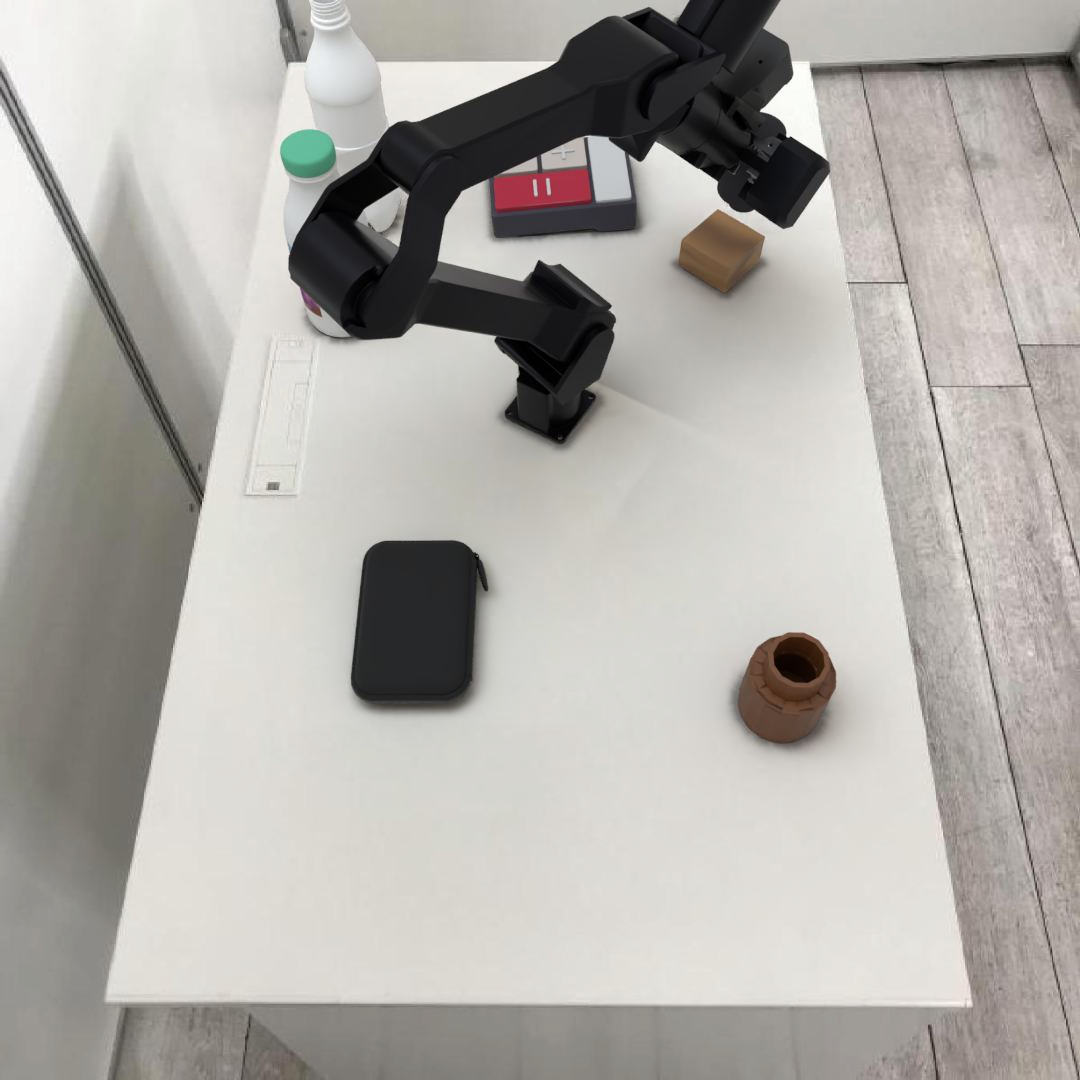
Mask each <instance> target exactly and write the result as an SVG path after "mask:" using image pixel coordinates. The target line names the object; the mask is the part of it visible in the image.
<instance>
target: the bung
mask: <svg viewBox="0 0 1080 1080" xmlns="http://www.w3.org/2000/svg"><path fill="white" fill-rule="evenodd" d="M759 114H760V115H762V116H763V117H764V118H765V119H766V120H765V121H764V123H763V124H762V126H761V127H760V129H759V130H758V132H757V133H755V132H754V131H752V133H753V134H755V135H756V136H758V137H759V138H761V139H763V140H765V139H767V138H768V137H771V136H774V137H776V136H777V134H778V133H779V132H780V133H782V134H783V135H785V136H786V137H787V133H788V132H787V128H786V126H785V124H784V123H783V121H782V120H780V119H779V118H778V117H777V116H775V115H773V114H771V113H767V112H763V111H760V112H759ZM748 150H750V151H751V152H753V153H754V154H756V155H757V154H758V152H757V150H756V151H755V150H754V147H753V148H751V147H750V145H749V146H748ZM761 152H763V151H761ZM763 153H764V152H763ZM738 163H740V164H741V167H740V169H739V171H738V172H737V174H735V175H734V174H732V173H730V172H729V171H727V170H726V172H725V173H724V175H723V176H722V178H721V179H720V181H719V182H718V181H717V185H716V190H717V193H718V196H719V197H720V199H721V200H722V201H723V202H724V203H726V204H728V207H730V209H731V210H732V211H735V212H737V213H741V214H742V213H743V214H746V213H751V212H753V211H755V210H754V209H752V208H751V207H749V206H748V205H747V204H746V202H745V201H744V200H742V199H741V198H739V197H738V196H737V195H738V193H739V192H740V190H741V189H742V187H743V186H744V184H745V183H746V181H747V180H748V178H749V177H750V175H751V174H750V173H748V172H747V169H748V168H749V166H748V165H747V164H745V163H744V162H742V161H741V160H740V161H739V162H738ZM738 163H737V164H738Z"/></svg>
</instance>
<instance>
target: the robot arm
mask: <svg viewBox="0 0 1080 1080" xmlns="http://www.w3.org/2000/svg"><path fill="white" fill-rule="evenodd" d="M781 1H782V0H688V2H687V3H686V5H685V7H684V8H683V10H682V12H681V13H680V15H679V17H678V18H677V20H676V21H673V20H671V19H670V18H669V17H667V16H666V15H664V14H662V13H661V12H659V11H658V10H655V9H654V8H653V7H650V6H647V7H644V8H642V9H639V10H636V11H634V12H631V13H629V14H625V15H623V16H619V15H616V14H615V15H609V16H606V17H604V18H602V19H600V20H599V21H597V22H595V23H594V24H592V25H591V26H589V27H587V28H586V29H584V30H583V31H581V32H579V33H577V34H576V35H574V36H573V37H571V38H570V39H569V40H567V42H566V44H565V46H564V48H563V50H562V52H561V54H560V57H559V58H558V60H557V61H556V62H554V63H553V64H550V66H548V67H546V68H543V69H540V70H539V71H536V72H534V73H532V74H529V75H527V76H524V77H522V78H520V79H516V80H515V81H511V82H510V83H508V84H505V85H503V86H501V87H497V88H496V89H493V90H491V91H488V92H485V93H483V94H481V95H478V96H476V97H474V98H471V99H469V100H466V101H464V102H462V103H460V104H457V105H455V106H452V107H450V108H447V109H445V110H442V111H440V112H437V113H435V114H433V115H430V116H428V117H426V118H423V119H421V120H416V121H410V120H408V119H407V120H400V121H397V122H395V123H393V124H392V125H389V128H388V129H387V130H386V132H385V133H384V134H383V135H382V137H381V138H380V140H379V141H378V143H377V145H376V146H375V148H374V149H373V151H372V153H371V154H370V156H369V157H368V159H367V160H366V161H364V162H362V163H361V164H359V165H358V166H356V167H355V168H353V169H352V170H350V171H349V172H347V173H346V174H344V175H343V176H341V177H339V178H338V179H336V180H335V181H333V182H332V183H330V184H329V185H328V186H327V187H326V188H325V190H324V192H323V193H322V195H321V196H320V198H319V200H318V201H317V203H316V204H315V206H314V208H313V209H312V211H311V213H310V214H309V216H308V217H307V219H306V221H305V222H304V224H303V225H302V227H301V229H300V230H299V232H298V234H297V235H296V238H295V240H294V242H293V245H292V248H291V251H290V252H289V254H288V262H287V263H288V264H287V269H288V272H289V275H290V276H289V278H290V280H291V281H292V282H293V283H294V284H295V285H297V286H298V288H299V289H300V288H301V289H302V290H303V291H304V292H305V293H306V294H307V295H308V296H309V297H310V298H311V299H312V300H313V301H314V302H315V303H317V304H318V305H319V306H320V307H321V308H322V309H323V310H324V311H325V312H326V313H327V314H328V315H329V316H330V317H331V318H332V319H333V320H334V321H335V322H336V323H337V324H338V325H339V326H340V327H342V328H343V329H344V330H345V331H346V332H347V333H348V334H349V335H350V338H352V339H355V340H358V341H375V340H389V339H391V340H392V339H399V338H402V337H403V336H404V335H405V334H407V332H408V331H409V330H410V329H411V328H412V327H414V326H415V325H425V326H431V327H436V328H444V329H449V330H453V331H454V330H455V331H461V332H467V333H474V334H479V335H485V336H492V337H495V338H494V341H493V342H494V344H495V345H496V347H497V348H498V350H499V351H500V352H501V353H502V354H503V355H506V356H507V357H508V358H509V359H511V361H512V362H514V363H515V364H516V365H517V373H518V376H517V378H516V396H515V397H514V399H513V400H512V401H511V402H510V404H509V405H508V406H507V407H506V409H505V410H504V417H505V419H507V420H510V421H511V422H513V423H514V424H517V425H518V426H521V427H523V428H525V429H527V430H529V431H532V432H533V433H536V434H537V435H540V436H542V437H544V438H546V439H547V440H550V441H552V442H554V443H556V444H558V445H562V444H564V443H566V441H567V440H568V439H569V437H570V436H571V434H572V433H573V432H574V430H575V429H576V428H577V426H578V425H579V424H580V423H581V421H582V420H583V419H584V417H585V416H586V414H587V413H588V412H589V410H590V409H591V408H592V407H593V405H594V404H595V403H596V400H597V394H596V393H594V392H592V391H590V390H588V388H589V387H590V386H592V385H593V384H594V383H596V382H597V381H599V380H600V379H601V377H602V374H603V372H604V369H605V366H606V364H607V361H608V358H609V355H610V353H611V351H612V347H613V344H614V341H615V337H616V336H615V332H614V327H615V324H616V323H617V317H616V315H615V314H614V313H612V312H611V311H610V309H611V308H612V307H613V304H611V302H609V301H608V300H607V299H605V298H604V297H603V296H602V295H600V294H599V293H598V292H597V291H595V290H594V289H593V288H591V287H590V286H589V285H588V284H586V283H585V282H584V281H583V280H582V279H580V278H579V277H578V276H577V275H576V274H575V273H573V272H571V270H569V269H568V268H567V267H565V266H564V265H563V264H562V263H557V264H547V263H545V262H544V261H543V260H541V259H538V260H537V262H536V264H535V265H534V269H533V270H532V271H530V273H528V275H527V276H526V277H525V278H524V279H523V280H518V279H514V278H509V277H506V276H501V275H498V274H493V273H489V272H486V271H482V270H481V271H480V270H478V269H472V268H468V267H464V266H460V265H457V264H452V263H448V262H444V261H440V260H439V255H440V251H441V250H440V249H441V245H442V240H443V239H442V238H443V233H444V227H445V221H446V217H447V215H448V214H449V212H450V211H451V210H452V207H454V205H455V203H456V202H457V200H458V199H459V197H460V196H461V194H462V192H464V191H466V190H468V189H470V188H472V187H475V186H477V185H479V184H481V183H483V182H485V181H487V180H489V179H490V178H492V177H494V176H496V175H498V174H501V173H503V172H505V171H507V170H509V169H511V168H514V167H516V166H518V165H520V164H522V163H524V162H527V161H529V160H531V159H533V158H535V157H537V156H540V155H542V154H544V153H546V152H548V151H550V150H553V149H555V148H557V147H559V146H561V145H563V144H566V143H568V142H570V141H572V140H574V139H577V138H581V137H591V136H598V137H609V141H610V142H612V143H613V144H614V145H616V146H617V147H619V148H620V149H621V150H623V151H624V152H626V153H627V154H628V155H629V157H631V158H632V159H634V160H635V161H637V162H638V163H642V162H644V161H645V159H646V157H647V155H649V153H650V151H651V150H652V148H653V146H654V145H655V143H657V144H659V145H661V146H662V147H664V148H666V149H667V150H669V151H670V152H672V153H674V154H675V155H676V156H678V157H679V158H680V159H682V160H684V161H685V162H687V163H688V164H689V165H691V166H692V167H694V168H696V169H697V170H700V171H702V172H703V173H704V174H706V175H707V176H709V177H711V179H713V180H714V181H716V182H717V183H718V182H719V181H720V179H721V178H722V176H723V175H724V173H725V172H726V170H727V171H729V172H730V173H732V174H734V175H735V174H737V172H738V171H739V169H740V167H741V164H740V163H738V162H739V161H740V160H741V161H742V162H744V163H745V164H747V165H748V166H749V168H748V169H747V172H748V173H750V174H751V175H750V177H749V178H748V180H747V181H746V183H745V184H744V186H743V187H742V189H741V190H740V192H739V193H738V195H737V196H738V197H739V198H741V199H742V200H744V201H745V202H746V204H747V205H748V206H749V207H751V208H752V209H754V210H753V211H755V212H757V213H758V214H760V215H761V216H762V217H764V218H765V219H767V220H768V221H769V222H771V223H773V224H774V225H776V226H777V227H779V228H780V229H782V230H786V229H789V228H793V227H794V225H795V224H796V223H797V221H798V220H799V218H800V217H801V216H802V214H803V213H804V211H805V209H806V208H807V206H808V205H809V204H810V202H811V201H812V200H813V198H814V196H815V195H816V194H817V192H818V191H819V189H820V188H821V186H822V185H823V184H824V182H825V181H826V179H827V178H828V176H829V175H830V173H831V165H830V161H829V160H827V159H826V158H825V157H824V156H823V155H821V154H819V153H818V152H816V151H815V150H813V149H812V148H811V147H808V146H807V145H805V144H804V143H802V142H800V141H799V140H797V139H796V138H794V137H793V136H789V137H788V136H787V135H786V136H785V135H783V134H782V133H780V132H779V133H778V134H777V136H776V137H774V136H771V137H768V138H767V139H765V140H763V139H761V138H759V137H758V136H756V135H755V134H753V133H752V131H754V132H755V133H757V132H758V130H759V129H760V127H761V126H762V124H763V123H764V121H765V120H766V119H765V118H764V117H763V116H762V115H760V114H759V112H762V110H763V109H764V108H765V107H767V106H768V105H769V103H770V102H771V101H772V100H773V99H774V98H775V97H776V96H777V94H778V93H779V92H780V91H781V90H782V89H783V88H784V87H785V86H786V85H788V84H790V82H791V81H792V80H793V77H794V68H793V62H792V57H791V50H790V46H789V43H788V42H786V41H785V40H784V39H782V38H780V37H778V36H777V35H775V34H773V33H772V32H770V31H768V30H767V29H765V26H766V24H768V22H769V20H770V18H771V17H772V15H773V13H774V12H775V10H776V8H777V7H778V6H779V4H780V2H781ZM749 145H750V147H751V148H753V147H754V150H755V151H756V150H757V152H758V154H757V155H756V154H754V153H753V152H751V151H750V150H748V146H749ZM761 151H763V152H764V153H763V152H761ZM737 163H738V164H737ZM398 187H399V189H400V190H402V192H404V193H405V194H407V196H408V197H407V199H406V205H405V209H404V211H405V212H404V216H403V221H402V227H401V233H400V240H399V246H398V245H397V244H395V243H394V242H393V241H391V240H389V239H388V238H386V237H385V236H383V235H382V234H380V232H377V231H376V230H375V229H374V228H372V227H370V226H369V225H368V226H369V227H368V226H366V225H364V224H362V223H360V222H359V221H357V220H358V218H359V216H360V215H361V213H362V212H363V210H364V209H365V208H367V207H368V206H370V205H371V204H373V203H375V202H376V201H378V200H379V199H381V198H383V197H384V196H386V195H387V194H389V193H390V192H392V191H394V190H395V189H397V188H398Z"/></svg>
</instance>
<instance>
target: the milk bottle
mask: <svg viewBox="0 0 1080 1080" xmlns="http://www.w3.org/2000/svg"><path fill="white" fill-rule="evenodd" d="M279 153H280V158H281V163H282V165H283V170H284V172H285V174H286V176H287V177H288V178H289V181H288V191H287V195H286V198H285V201H284V205H283V214H282V217H283V218H282V219H283V220H282V221H283V230H284V237H285V239H286V244H287V248H288V252H289V253H290V251H291V248H292V245H293V242H294V240H295V238H296V235H297V234H298V232H299V230H300V229H301V227H302V225H303V224H304V222H305V221H306V219H307V217H308V216H309V214H310V213H311V211H312V209H313V208H314V206H315V204H316V203H317V201H318V200H319V198H320V196H321V195H322V193H323V192H324V190H325V188H326V187H327V186H328V185H329V184H330V183H332V182H333V181H335V180H336V179H338V178H339V177H341V176H340V174H339V172H338V170H337V165H338V160H337V157H336V151H335V147H334V143H333V141H332V139H331V138H330V136H329V135H327V134H326V133H324V132H322V131H319V130H315V129H314V128H313V129H311V128H310V129H301V130H297V131H295V132H292V133H291V134H289V135H287V136H286V137H285V138H284V139H283V140H282V142H281V144H280V148H279ZM357 221H359V222H360V223H362V224H364V225H366V226H368V227H370V226H369V223H368V222H367V218H366V214H365V212H364V210H363V212H362V213H361V215H360V216H359V218H358V220H357ZM299 290H300V294H301V297H302V300H303V301H302V302H303V304H304V307H305V310H306V313H307V316H308V319H309V322H310V323H311V324H312V325H313V326H314V327H315V328H316V329H317V330H318V331H320V332H321V333H323V334H325V335H328V336H331V337H337V338H351V336H350V335H349V334H348V333H347V332H346V331H345V330H344V329H343V328H342V327H340V326H339V325H338V324H337V323H336V322H335V321H334V320H333V319H332V318H331V317H330V316H329V315H328V314H327V313H326V312H325V311H324V310H323V309H322V308H321V307H320V306H319V305H318V304H317V303H315V302H314V301H313V300H312V299H311V298H310V297H309V296H308V295H307V294H306V293H305V292H304V291H303V290H302V289H301V288H300V287H299Z"/></svg>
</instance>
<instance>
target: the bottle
mask: <svg viewBox="0 0 1080 1080" xmlns="http://www.w3.org/2000/svg"><path fill="white" fill-rule="evenodd" d="M836 688H837V671H836V669H835V665H834V663H833V661H832V659H831V657H830V654H829V652H828V650H827V649H826V648H825V646H824V645H823V643H822V642H821V640H819V639H817V638H815V637H814V636H812V635H810V634H808V633H806V632H797V631H796V632H795V631H794V632H793V631H792V632H791V631H790V632H789V631H788V632H786V633H783V634H782V635H781V634H780V635H778V636H773V637H769V638H767V639H766V640H765V641H764V642H762V643H760V644H759V645H758V646H757V647H756V648H755V650H754V652H753V654H752V655H751V657H750V659H749V661H748V664H747V667H746V670H745V673H744V675H743V679H742V680H741V684H740V687H739V689H738V697H737V705H738V711H739V714H740V717H741V719H742V721H743V722H744V724H745V725H746V727H748V729H749V730H750V731H751V732H753V733H754V734H755V735H757V736H758V737H760V738H762V739H764V740H765V741H769V742H772V743H778V744H789V743H793V742H796V741H799V740H801V739H804V738H805V737H806V736H808V735H809V734H810V733H811V732H812V731H813V730H814V729H815V728H816V726H817V724H818V722H819V721H820V718H821V716H822V714H823V713H824V711H825V709H826V707H827V706H828V704H829V703H830V700H831V698H832V696H833V694H834V692H835V691H836Z"/></svg>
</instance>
